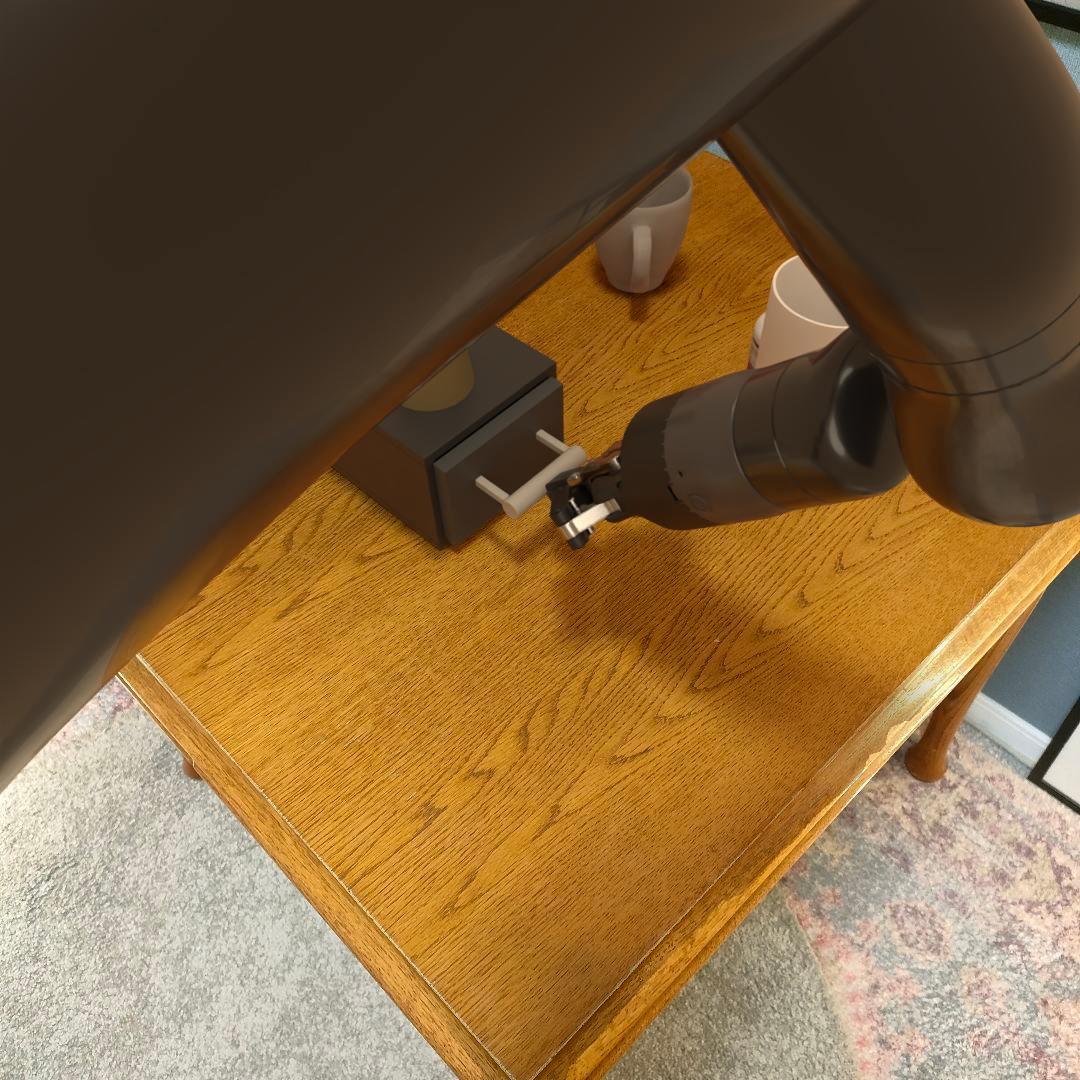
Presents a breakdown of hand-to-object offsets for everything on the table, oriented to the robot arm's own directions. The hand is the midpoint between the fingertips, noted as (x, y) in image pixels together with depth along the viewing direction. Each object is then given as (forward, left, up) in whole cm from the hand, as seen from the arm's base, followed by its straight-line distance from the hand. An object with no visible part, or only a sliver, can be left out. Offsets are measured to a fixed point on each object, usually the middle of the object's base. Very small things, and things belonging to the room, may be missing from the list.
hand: (558, 492), depth 64 cm
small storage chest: (0, +13, -6) cm, 14 cm away
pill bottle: (+23, -3, -6) cm, 24 cm away
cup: (+18, -8, -6) cm, 20 cm away
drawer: (0, +9, -5) cm, 10 cm away
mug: (+27, +15, -6) cm, 32 cm away
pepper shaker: (-1, +11, +4) cm, 12 cm away
